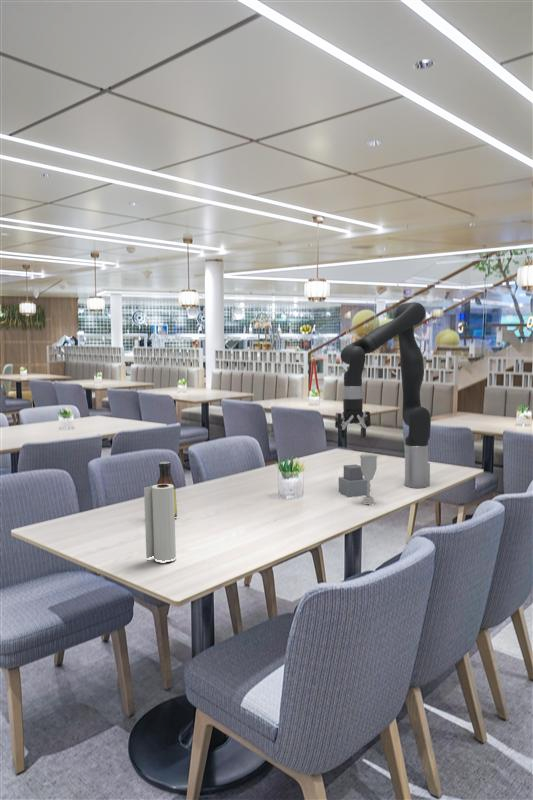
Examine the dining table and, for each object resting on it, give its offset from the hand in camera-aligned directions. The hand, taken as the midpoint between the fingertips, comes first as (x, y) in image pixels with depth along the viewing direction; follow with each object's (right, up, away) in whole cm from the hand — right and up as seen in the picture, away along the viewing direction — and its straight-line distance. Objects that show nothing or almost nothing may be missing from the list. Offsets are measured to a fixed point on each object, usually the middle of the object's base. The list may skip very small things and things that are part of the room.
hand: (352, 438), depth 243 cm
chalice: (+4, -24, -13) cm, 27 cm away
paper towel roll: (-63, -30, -69) cm, 98 cm away
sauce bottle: (-68, -26, -29) cm, 79 cm away
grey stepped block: (0, -22, +2) cm, 22 cm away
